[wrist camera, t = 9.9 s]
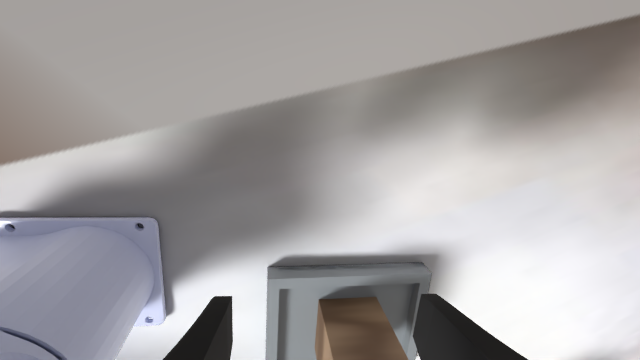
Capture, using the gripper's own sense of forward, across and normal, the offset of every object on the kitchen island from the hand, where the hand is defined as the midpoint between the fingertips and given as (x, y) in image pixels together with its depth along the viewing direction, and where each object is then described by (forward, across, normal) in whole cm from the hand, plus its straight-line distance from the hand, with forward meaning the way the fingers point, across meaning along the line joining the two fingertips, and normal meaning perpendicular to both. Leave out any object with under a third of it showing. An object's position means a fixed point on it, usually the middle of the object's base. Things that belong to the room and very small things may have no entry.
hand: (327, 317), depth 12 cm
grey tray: (+10, -3, +10) cm, 15 cm away
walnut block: (+10, -3, +9) cm, 14 cm away
